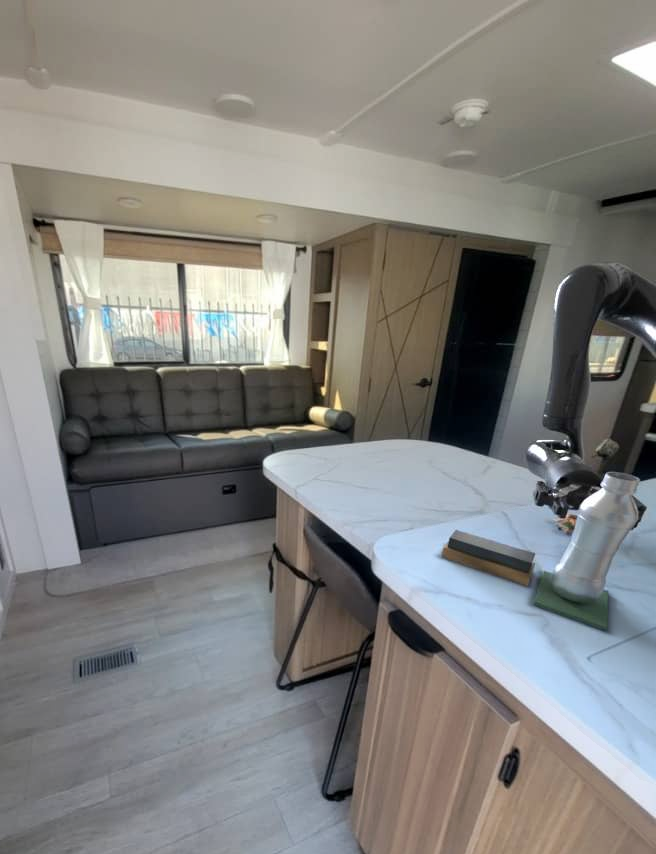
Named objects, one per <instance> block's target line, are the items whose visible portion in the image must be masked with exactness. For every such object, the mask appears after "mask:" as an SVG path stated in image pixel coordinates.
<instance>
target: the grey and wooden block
mask: <svg viewBox="0 0 656 854" xmlns="http://www.w3.org/2000/svg"><path fill="white" fill-rule="evenodd" d="M535 556H536V552H532V551H529V550H525V549H521V548H519V547H516V546H512V545H508V544H505V543H502V542H499V541H495V540H493V539H489V538H485V537H482V536H478V535H475V534H472V533H468V532H465V531H462V530H458V529H455V530H454V532H452V534H451V535H450V536H449V538H448V540H447V542H446V544H445V545H444V546H443V548H442V553H441V555H440V557H441V558H444V559H447V560H450V561H453V562H455V563H459V564H462V565H464V566H468V567H470V568H474V569H476V570H479V571H482V572H485V573H488V574H492V575H494V576H497V577H499V578H503V579H506V580H509V581H512V582H515V583H518V584H520V585H524V586H527V587H528V586H529V584H530V582H531V581H530V580H531V578H532V575H533V572H534V569H535V566H536V562H534V559H535Z"/></svg>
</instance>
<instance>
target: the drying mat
mask: <svg viewBox="0 0 656 854" xmlns="http://www.w3.org/2000/svg"><path fill="white" fill-rule="evenodd" d="M551 574H552V572H550V571H546V570H543V571H542V574H541V577H540V581H539V585H538V587H537V588H538V589H537V591H536V595H535V598H534V602H533V605H534V606H536V607H538V608H542V609H545V610H547V611H550V612H552V613H555V614H558V615H561V616H564V617H567V618H570V619H572V620H574V621H578V622H580V623H584V624H586V625H588V626H591V627H595V628H598V629H600V630H602V631H607V629H608V615H609V613H608V612H609V590H607V589H604V590H603V592H602V594H601V595H600V596H599V597H598V599H596V600H595V601H592V602H589V603H579V602H574V601H571V600H568V599H566V598H564V597H562V596H560V595H559V594H557V593H556V592H555V591H554V590H553V589H552V586H551V584H550V580H551Z"/></svg>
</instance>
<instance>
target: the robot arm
mask: <svg viewBox="0 0 656 854" xmlns="http://www.w3.org/2000/svg"><path fill="white" fill-rule="evenodd" d="M553 305H554V306H553V308H554V309H553V336H552V354H551V355H552V356H551V369H550V377H549V385H548V390H547V395H546V399H545V404H544V407H543V413H542V419H541V426H542V427H543V428H544V429H545V430H547V431H551V432H555V433H558V434H563V435H565V436H566V438H565V440H554V439H553V440H551V439H548V440H547V439H541V440H536V441H534V442H532V443H530V444H529V445H528V446H527V448H526V450H525V452H524V456H523V457H524V464H525V466H526V469H527V470H528V471H529V472H530V473H531V474H533V475H534V476H536V477H538V478H540V479H542V480H544V481H542V480H537V481H536V483H535V486H534V489H533V492H532V497H533V501H534V505H535V506H537V507H541V508H543V507H544V506H548V509H549V510H551V511H552V513H553V514H554V515H555V516H557V518H558V519H559V518H561V519H565V517H566V515H567V514H568V512H569V511H579V508H580V505H581V503H582V502H583V501H584V500H585V499H586V498H588V497H589V496H590V495H592V494H594V493H595V492H597V491H599V490H601V489H602V487H601V486H600V484H601V482H602V481H603V479H602V477H601V475H600V476H599V475H598V472H597V471H596V470H595V469H593V467H592V466H591V465H590V464H589V463H587V462H586V461H585V448H584V440H583V439H584V437H583V427H584V426H583V425H584V419H585V415H586V411H587V407H588V404H589V403H588V402H589V400H590V399H589V398H590V394H591V387H592V384H591V383H592V379H591V371H590V370H591V369H590V368H591V367H590V345H591V340H592V335H593V333H594V329H595V326H596V324H597V321H601V322H605V323H607V324H610V325H612V326H614V327H617V328H619V329H622V330H623V331H626V332H627V333H629V334H630V335H632V336H634V337H635V338H636V339H637V340H639V341H640V342H641V344H642V345H643V346H644V348H646V349H647V350H648V351H649V353H650V354H651V355H652V356H653V358H655V359H656V283H653V282H652V281H650V280H648V279H647V278H645V277H644V276H642V275H640V274H639V273H637V272H635V270H632V269H631V268H629V267H628V266H626V265H624V264H622V263H618V262H611V261H610V262H609V261H608V262H607V261H605V262H594V263H587V264H586V263H585V264H583V265H582V264H581V265H580V266H577V267H575V268H574V269H572V270H570V271H569V272H568V273H567V274H566V275H565V276H564V277H563V278H562V280H561V281H560V283H559V285H558V286H557V289H556V291H555V295H554V304H553ZM632 498H633V500H634V502H635V504H636V507H637V510H638V520H637V521H636V523H635V525H634V526H633V528H632V529H631V530H630V531H634V530H635V529H636V528H637V527H638V525H639V523H641V521H642V518H643V516H644V514H645V512H647V509H648V507H647V506H646V505H645V503H642V501H640V500H639V499H638V498H637V497H636V496H634V494H632Z"/></svg>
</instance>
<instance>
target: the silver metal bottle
mask: <svg viewBox="0 0 656 854" xmlns="http://www.w3.org/2000/svg"><path fill="white" fill-rule="evenodd" d="M602 480H603V481H602V482H601V484H600V486H601V487H602V489H601V490H599V491H597V492H595V493H594V494H592V495H590V496H589V497H588V498H586V499H585V500H584V501H583V502H582V503H581V505H580V508H579V510H578V512H577V521H576V525H575V529H574V532H573V534H571V539H570V541H569V543H568V546H567V547H566V550H565V552H564V553H563V555H562V557H561V559H560V561H559V562H558V563H557V564H556V566H555V567H554V569H553V570H552V572H551V573H552V574H551V580H550V584H551V586H552V589H553V590H554V591H555V592H556V593H557V594H559V595H560V596H562V597H564V598H566V599H568V600H571V601H574V602H579V603H589V602H592V601H595V600H596V599H598V597H599V596H600V595H601V594H602V592H603V590H605V586H606V584H607V583H606V582H607V576H608V572H609V570H610V567H611V566H612V565H611V564H612V562H613V558H614V557H615V555H616V553H617V552H618V550H619V548H620V546H621V545H622V543H623V542H624V540H625V539H626V537H627V536H628V534H630V531H632V530H631V529H632V528H633V526H634V525H635V523H636V521H637V520H638V510H637V507H636V504H635V502H634V500H633V498H632V495H636V494H637V491H638V486H639V485H640V482H641V479H640V478H639V477H637V476H635V475H631V474H629V473H625V472H618V471H607V472H606V473H605V474H604V477H603V479H602Z"/></svg>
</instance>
